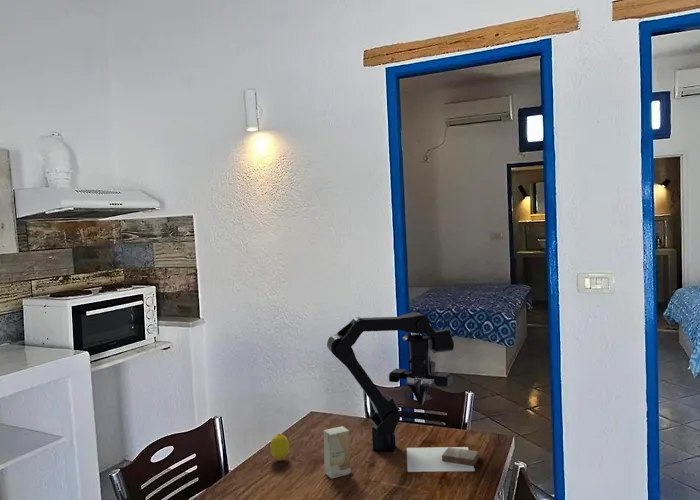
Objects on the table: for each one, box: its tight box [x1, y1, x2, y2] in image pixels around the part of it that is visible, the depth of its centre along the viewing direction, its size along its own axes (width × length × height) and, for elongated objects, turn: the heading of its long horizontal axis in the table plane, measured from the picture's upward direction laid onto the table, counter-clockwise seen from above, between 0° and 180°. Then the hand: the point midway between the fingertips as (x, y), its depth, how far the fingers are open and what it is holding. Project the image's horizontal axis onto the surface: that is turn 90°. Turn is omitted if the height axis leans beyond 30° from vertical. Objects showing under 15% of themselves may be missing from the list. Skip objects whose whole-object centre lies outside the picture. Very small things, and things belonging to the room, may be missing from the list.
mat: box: [406, 446, 476, 473], centre depth 162 cm, size 18×16×1 cm
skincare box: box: [322, 425, 352, 479], centre depth 156 cm, size 6×4×12 cm
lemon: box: [270, 433, 290, 462], centre depth 167 cm, size 6×6×8 cm
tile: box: [442, 446, 480, 467], centre depth 161 cm, size 2×6×9 cm
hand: (421, 405), depth 174 cm, fingers closed
